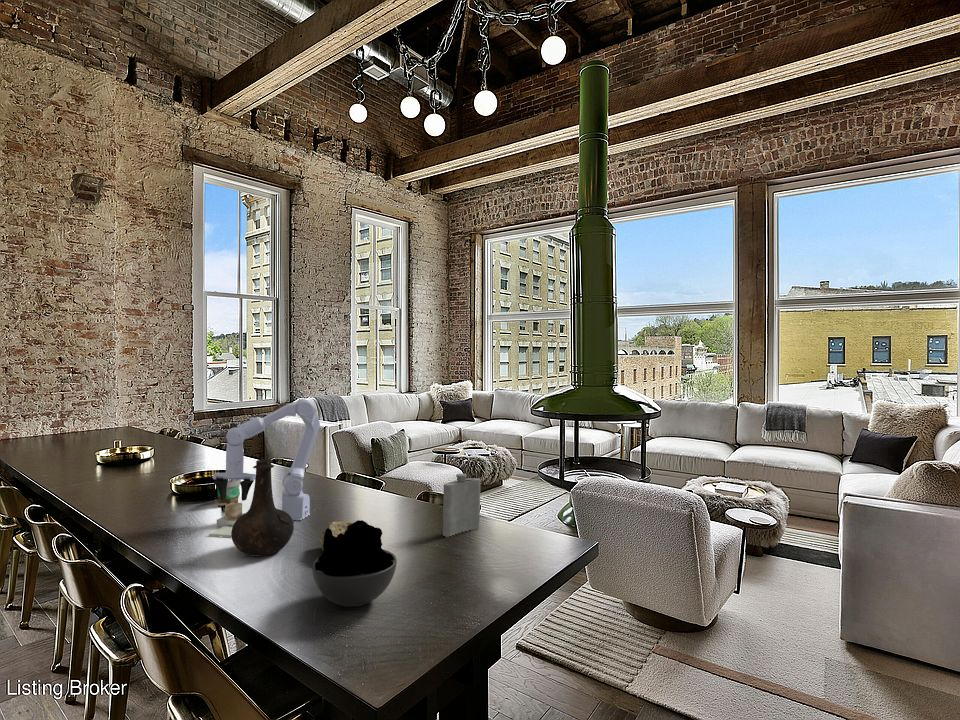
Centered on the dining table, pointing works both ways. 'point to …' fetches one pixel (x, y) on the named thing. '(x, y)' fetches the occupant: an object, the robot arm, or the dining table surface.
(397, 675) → the dining table surface
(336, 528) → the rock
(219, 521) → the white flat frame
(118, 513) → the dining table surface
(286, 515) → the glass bottle
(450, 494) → the hip flask
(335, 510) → the dining table surface
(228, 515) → the maple peg
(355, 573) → the bowl of black rocks
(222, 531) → the ceramic tile
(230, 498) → the food container
